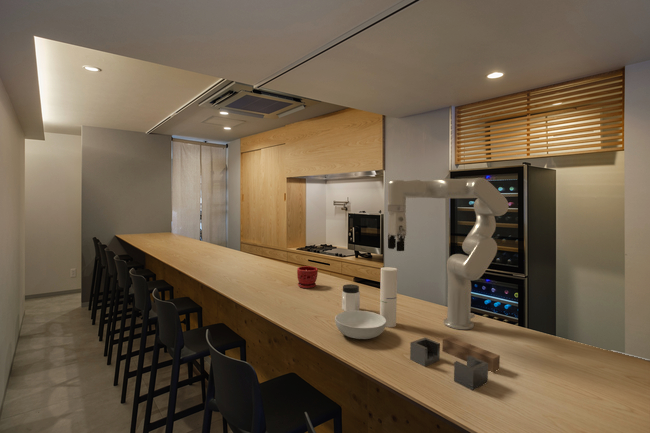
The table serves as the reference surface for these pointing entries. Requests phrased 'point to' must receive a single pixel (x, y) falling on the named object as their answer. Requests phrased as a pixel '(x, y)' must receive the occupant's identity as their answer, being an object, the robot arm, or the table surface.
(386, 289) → the cylindrical container
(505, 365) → the table surface
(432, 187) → the robot arm
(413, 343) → the bracket
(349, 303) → the jar
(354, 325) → the serving bowl
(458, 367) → the bracket
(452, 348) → the walnut rail
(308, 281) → the plant pot
